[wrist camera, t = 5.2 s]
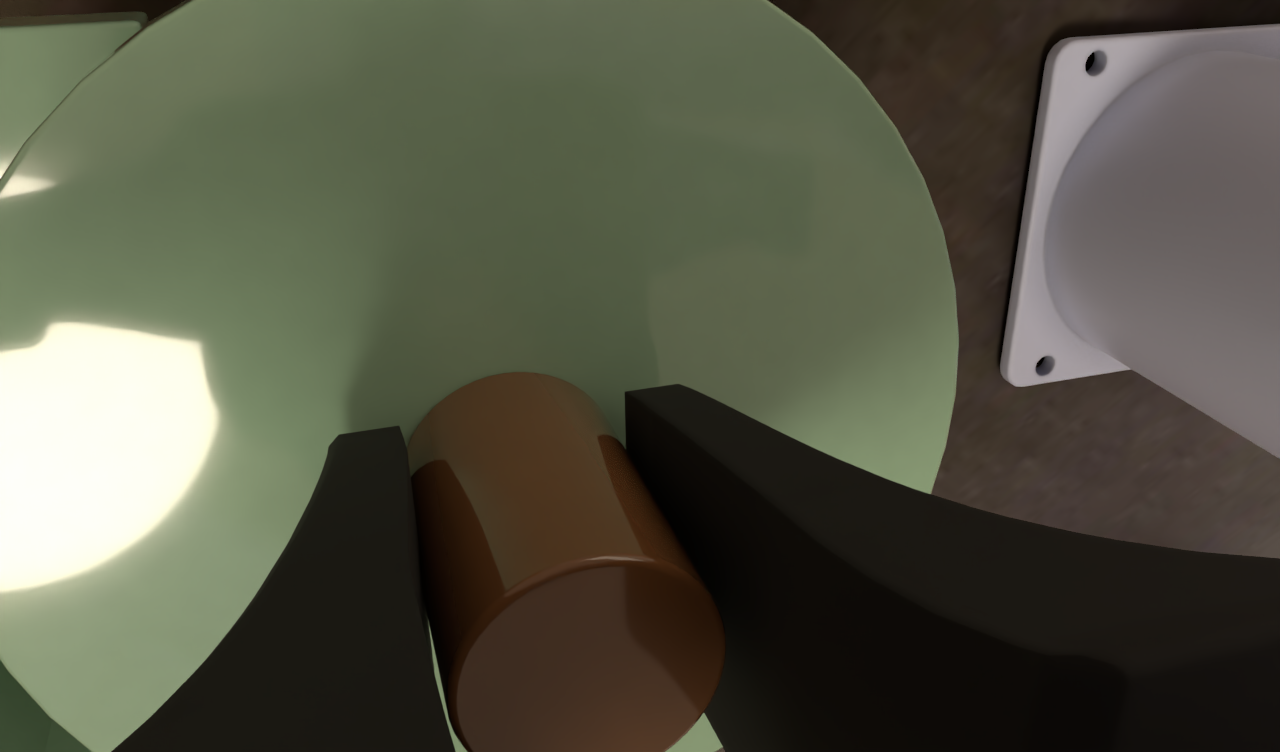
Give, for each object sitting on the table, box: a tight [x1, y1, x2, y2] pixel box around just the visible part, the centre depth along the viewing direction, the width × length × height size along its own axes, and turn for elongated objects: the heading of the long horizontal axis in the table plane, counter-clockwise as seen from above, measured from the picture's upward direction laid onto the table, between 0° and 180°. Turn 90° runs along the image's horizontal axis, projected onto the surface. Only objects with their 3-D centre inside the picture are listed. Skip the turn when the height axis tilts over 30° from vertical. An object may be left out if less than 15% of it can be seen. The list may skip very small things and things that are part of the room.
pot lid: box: [0, 0, 959, 752], centre depth 11 cm, size 11×11×5 cm
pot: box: [0, 11, 149, 752], centre depth 19 cm, size 10×16×5 cm, turn 0°
